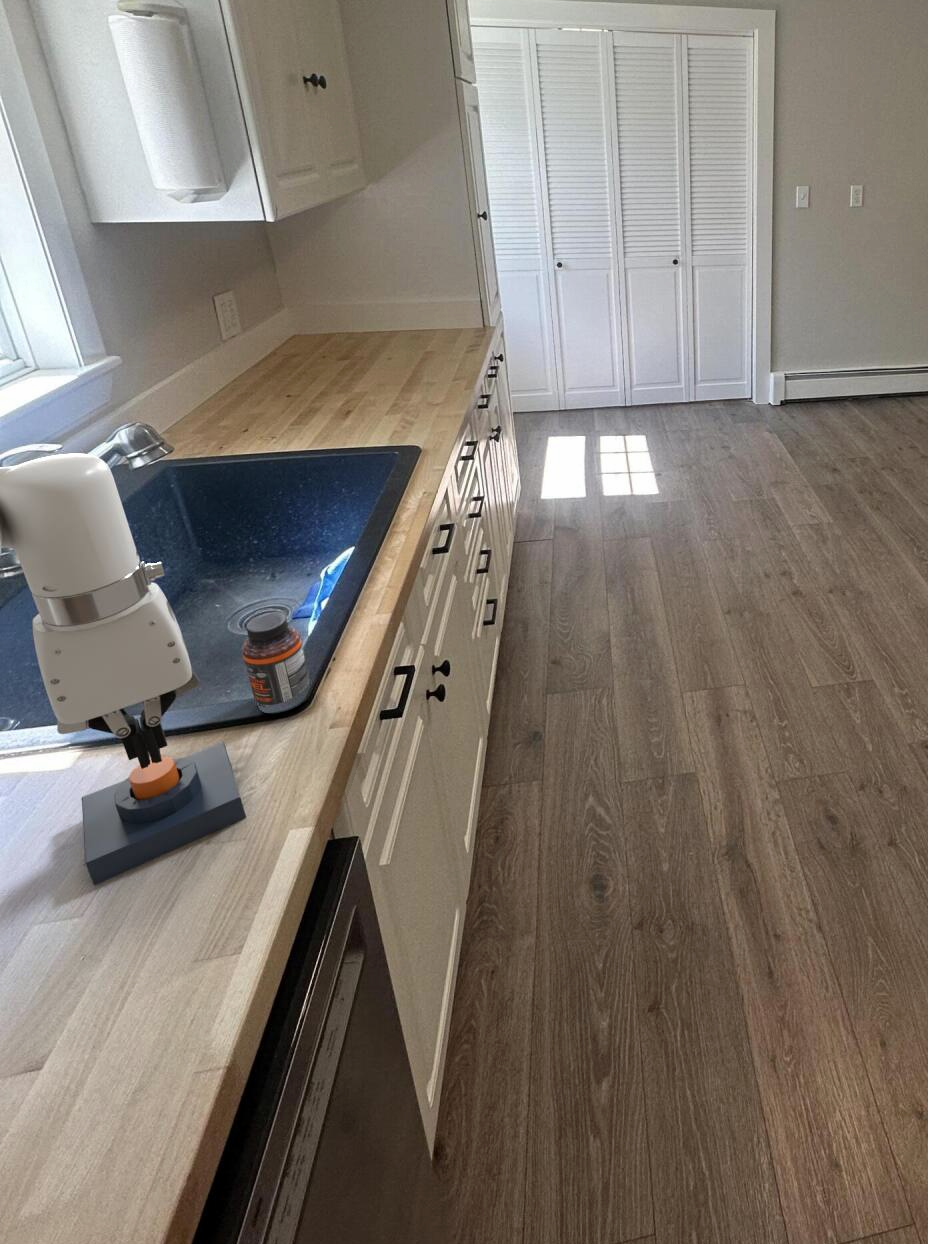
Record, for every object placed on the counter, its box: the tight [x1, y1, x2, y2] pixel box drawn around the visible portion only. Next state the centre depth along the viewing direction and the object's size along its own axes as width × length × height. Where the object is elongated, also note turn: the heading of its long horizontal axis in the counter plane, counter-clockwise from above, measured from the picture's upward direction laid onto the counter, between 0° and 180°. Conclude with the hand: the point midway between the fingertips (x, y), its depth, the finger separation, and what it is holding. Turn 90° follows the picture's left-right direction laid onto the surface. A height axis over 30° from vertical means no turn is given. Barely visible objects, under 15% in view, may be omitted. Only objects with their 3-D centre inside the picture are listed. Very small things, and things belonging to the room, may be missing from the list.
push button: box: [128, 755, 179, 800], centre depth 77 cm, size 4×4×2 cm
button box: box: [81, 741, 247, 886], centre depth 78 cm, size 12×10×4 cm
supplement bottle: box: [241, 611, 311, 707], centre depth 93 cm, size 6×6×11 cm
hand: (150, 756), depth 76 cm, fingers closed
